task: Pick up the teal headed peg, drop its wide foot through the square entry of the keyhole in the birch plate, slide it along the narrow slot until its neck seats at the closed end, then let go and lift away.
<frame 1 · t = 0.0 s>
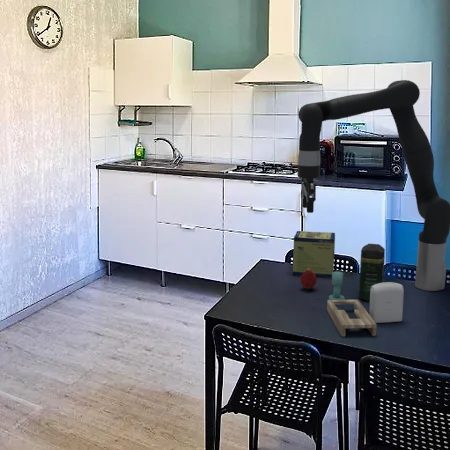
hand: (307, 210, 191), 29 cm above the table, tool pointing down, fingers open, 8 cm apart
keyhole plate: (350, 322, 169), on the table
photo printer: (385, 321, 170), on the table
protein box: (313, 273, 217), on the table
coffee jar: (370, 297, 190), on the table
peg: (336, 301, 187), on the table
red pomegranate: (308, 289, 198), on the table
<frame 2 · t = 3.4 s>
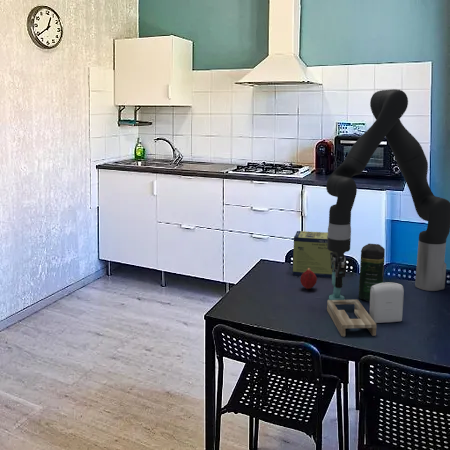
hand: (337, 285, 186), 6 cm above the table, tool pointing down, fingers closed on peg, 3 cm apart
peg: (336, 301, 187), on the table, touching gripper
everything else where it was.
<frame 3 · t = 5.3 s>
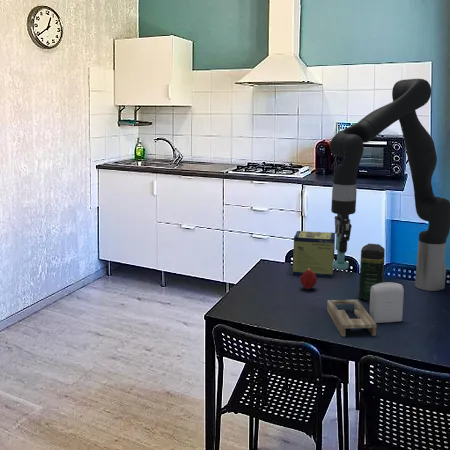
hand: (341, 250, 177), 20 cm above the table, tool pointing down, fingers closed on peg, 3 cm apart
peg: (340, 267, 178), point 14 cm above the table, touching gripper
everything else where it was.
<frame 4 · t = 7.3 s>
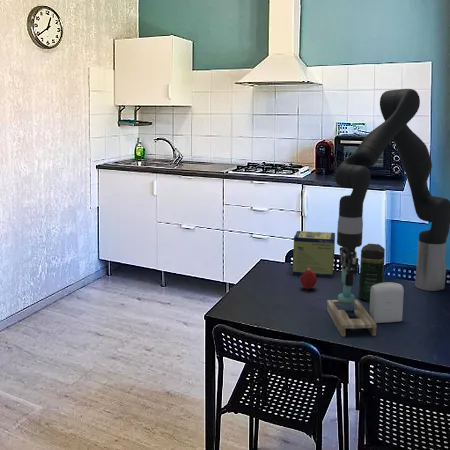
hand: (347, 283, 172), 11 cm above the table, tool pointing down, fingers closed on peg, 3 cm apart
peg: (346, 300, 173), point 5 cm above the table, touching gripper
everything else where it was.
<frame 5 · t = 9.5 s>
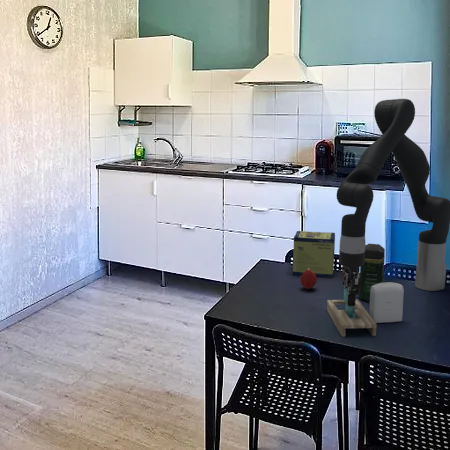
hand: (349, 302, 169), 6 cm above the table, tool pointing down, fingers closed on peg, 3 cm apart
peg: (348, 320, 170), on the table, touching gripper
everything else where it was.
when the fingers open (6 cm above the table, at t = 11.5 s): peg stays where it is, on the table.
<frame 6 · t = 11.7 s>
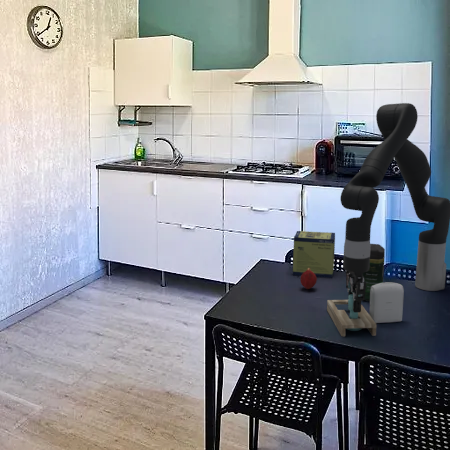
hand: (354, 308, 164), 6 cm above the table, tool pointing down, fingers open, 5 cm apart
peg: (353, 327, 166), on the table
everything else where it was.
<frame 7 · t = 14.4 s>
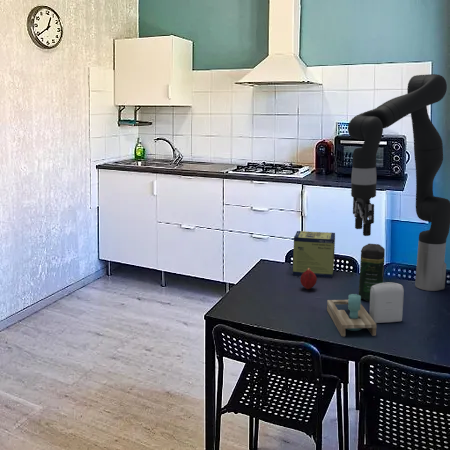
hand: (362, 232, 174), 26 cm above the table, tool pointing down, fingers open, 8 cm apart
nothing on the table moved.
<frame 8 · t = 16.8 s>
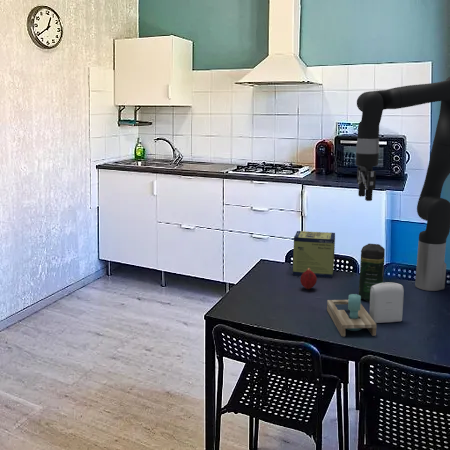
hand: (364, 198, 191), 33 cm above the table, tool pointing down, fingers open, 8 cm apart
nothing on the table moved.
at the end: peg 0.3 cm from the target spot on the keyhole plate, point 0.0 cm above the keyhole plate's base; the gripper is holding nothing; peg tilted 0° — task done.
